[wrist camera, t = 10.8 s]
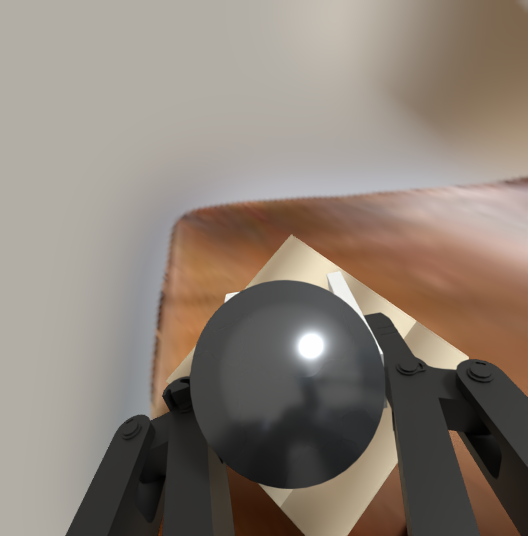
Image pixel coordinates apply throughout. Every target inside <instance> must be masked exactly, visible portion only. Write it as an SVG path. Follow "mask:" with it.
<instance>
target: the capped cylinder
mask: <svg viewBox="0 0 528 536" xmlns="http://www.w3.org/2000/svg"><path fill="white" fill-rule="evenodd" d="M190 391H191V399H192V405H193V409H194V412H195V416H196V419H197V422H198V424H199V426H200V429H201V431H202V433H203V435H204V437H205V438H206V440H207V442H208V443H209V445H210V446H211V447H212V449H213V450H214V451H215V453H216V454H217V455H218V456H219V457H220V458H221V459H222V460H223V461H224V462H225V463H226V464H227V465H228V466H229V467H231V468H232V469H233V470H235V471H236V472H237V473H239V474H240V475H242V476H244V477H246V478H248V479H249V480H251V481H254V482H257V483H259V484H262V485H265V486H269V487H274V488H280V489H299V488H308V487H311V486H315V485H319V484H322V483H324V482H326V481H329V480H331V479H333V478H335V477H336V476H338V475H340V474H341V473H343V472H344V471H346V470H347V469H348V468H349V467H350V466H351V465H353V464H354V463H355V462H356V461H357V460H358V459H359V457H360V456H361V455H362V454H363V453H364V451H365V450H366V449H367V447H368V446H369V444H370V442H371V441H372V439H373V437H374V435H375V433H376V431H377V428H378V426H379V423H380V420H381V416H382V412H383V409H384V401H385V374H384V366H383V362H382V358H381V355H380V351H379V349H378V346H377V344H376V341H375V339H374V337H373V335H372V333H371V332H370V330H369V328H368V326H367V325H366V324H365V322H364V321H363V320H362V318H361V317H360V316H359V314H358V313H357V312H356V311H355V310H354V309H353V308H352V307H351V306H350V305H349V304H347V303H346V302H345V301H344V300H342V299H341V298H340V297H338V296H337V295H335V294H333V293H332V292H330V291H328V290H326V289H324V288H322V287H320V286H317V285H313V284H310V283H307V282H302V281H295V280H274V281H269V282H263V283H260V284H257V285H254V286H251V287H249V288H247V289H245V290H242V291H241V292H239V293H237V294H236V295H234V296H233V297H231V298H230V299H229V300H228V301H226V302H225V303H224V304H223V305H222V306H221V307H220V308H219V309H218V310H217V311H216V312H215V313H214V314H213V316H212V317H211V318H210V320H209V321H208V322H207V324H206V326H205V328H204V329H203V331H202V333H201V335H200V337H199V340H198V342H197V344H196V348H195V351H194V354H193V359H192V364H191V373H190Z"/></svg>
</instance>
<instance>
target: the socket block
mask: <svg viewBox="0 0 528 536" xmlns="http://www.w3.org/2000/svg"><path fill="white" fill-rule="evenodd" d="M338 271H340V272H341V274H342V276H343V278H344V280H345V282H346V283H347V285H348V287H349V289H350V291H351V293H352V295H353V297H354V299H355V301H356V303H357V304H358V306H359V308H360V310H361V312H362V314H363V315H368V314H374V313H379V312H381V313H383V314H384V315H386V316H387V317H389V318H390V319H391V321H392V322H393V324H394V326H395V327H396V329H397V330H398V332H399V333H400V335H401V336H402V338H403V339H404V341H405V342H406V344H407V345H408V347H409V348H410V350H411V351H412V353H413V354H414V356H415V357H417V358H419V359H421V360H422V361H424V362H425V363H426V364H427V365H428V366H431V367H435V368H442V369H454V370H456V369H457V365H458V364H459V363H460V362H462V361H465V360H468V359H469V357H468V356H466V355H465V354H464V353H462V352H461V351H459V350H458V349H456V348H455V347H453V346H452V345H451V344H449V343H448V342H446V341H445V340H443V339H442V338H440V337H439V336H438V335H436V334H435V333H433V332H432V331H430V330H429V329H427V328H426V327H425V326H423V325H422V324H420V323H419V322H417V321H416V320H414V319H413V318H412V317H410V316H409V315H407V314H406V313H404V312H403V311H401V310H400V309H398V308H397V307H396V306H394V305H393V304H391V303H390V302H388V301H387V300H385V299H384V298H383V297H381V296H380V295H378V294H377V293H375V292H374V291H372V290H371V289H370V288H368V287H367V286H365V285H364V284H362V283H361V282H359V281H358V280H357V279H355V278H354V277H352V276H351V275H349V274H348V273H346V272H345V271H343V270H342V269H341V268H339V267H338V266H336V265H335V264H333V263H332V262H330V261H329V260H328V259H326V258H325V257H323V256H322V255H320V254H319V253H317V252H316V251H315V250H313V249H312V248H310V247H309V246H307V245H306V244H304V243H303V242H302V241H300V240H299V239H297V238H296V237H294V236H293V235H291V236H290V237H289V238H288V239H287V240H286V241H285V243H284V244H283V245H282V246H281V247H280V248H279V250H278V251H277V252H276V253H275V254H274V255H273V257H272V258H271V259H270V260H269V261H268V262H267V264H266V265H265V266H264V267H263V268H262V269H261V271H260V272H259V273H258V274H257V275H256V276H255V278H254V279H253V280H252V281H251V282H250V283H249V285H248V286H247V287H246V288H245V289H247V288H249V287H251V286H254V285H257V284H260V283H263V282H269V281H274V280H295V281H302V282H307V283H310V284H313V285H317V286H320V287H322V288H324V289H326V290H328V291H329V288H328V281H327V275H326V274H329V273H333V272H338ZM245 289H244V290H245ZM195 348H196V346H195ZM195 348H194V349H193V350H192V351H191V352H190V353H189V355H188V356H187V357H186V358H185V359H184V360H183V362H182V363H181V364H180V365H179V366H178V367H177V369H176V370H175V371H174V372H173V373H172V374H171V376H170V377H169V378H168V379H167V380H166V382H167V383H168V384H170V383H172V382H173V381H174V380H176V379H178V378H180V377H185V376H189V375H190V372H191V364H192V359H193V354H194V351H195ZM387 407H388V408H384V409H383V412H382V416H381V420H380V423H379V426H378V428H377V431H376V433H375V435H374V437H373V439H372V441H371V442H370V444H369V446H368V447H367V449H366V450H365V451H364V453H363V454H362V455H361V456H360V457H359V459H358V460H357V461H356V462H355V463H354V464H353V465H351V466H350V467H349V468H348V469H347V470H346V471H344V472H343V473H341V474H340V475H338V476H336V477H335V478H333V479H331V480H329V481H326V482H324V483H322V484H319V485H315V486H311V487H308V488H299V489H280V488H274V487H269V486H265V485H262V484H259V483H258V484H259V485H260V486H261V487H262V488H263V489H264V490H265V492H266V493H267V494H268V495H269V496H270V497H271V498H272V499H273V500H274V502H275V503H276V504H277V505H278V506H279V507H280V508H281V509H282V510H283V512H284V513H285V514H286V515H287V516H288V517H289V518H290V519H291V520H292V521H293V523H294V524H295V525H296V526H297V527H298V528H299V529H300V530H301V531H302V533H303V534H304V535H305V536H347V535H348V534H349V532H350V531H351V529H352V528H353V526H354V525H355V524H356V522H357V521H358V519H359V518H360V516H361V515H362V513H363V512H364V510H365V509H366V507H367V506H368V505H369V503H370V502H371V500H372V499H373V497H374V496H375V494H376V493H377V491H378V490H379V489H380V487H381V486H382V484H383V483H384V481H385V480H386V478H387V477H388V475H389V474H390V472H391V471H392V470H393V468H394V467H395V465H396V464H397V462H398V458H397V451H396V443H395V436H394V431H393V425H392V411H391V407H390V405H389V402H388V400H387Z"/></svg>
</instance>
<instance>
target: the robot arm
mask: <svg viewBox="0 0 528 536" xmlns="http://www.w3.org/2000/svg"><path fill="white" fill-rule="evenodd" d="M326 275H327V281H328V288H329V291H330V292H332V293H333V294H335V295H337V296H338V297H340V298H341V299H342V300H344V301H345V302H346V303H347V304H349V305H350V306H351V307H352V308H353V309H354V310H355V311H356V312H357V313H358V314H359V316H360V317H361V318H362V320H363V321H364V322H365V324H366V325H367V326H368V328H369V330H370V332H371V333H372V335H373V337H374V339H375V341H376V344H377V346H378V349H379V351H380V355H381V358H382V362H383V366H384V374H385V401H384V408H388V407H387V400H388V402H389V405H390V407H391V411H392V425H393V431H394V436H395V443H396V451H397V458H398V466H399V473H400V480H401V488H402V495H403V502H404V510H405V517H406V524H407V532H408V536H480V533H479V530H478V527H477V523H476V520H475V517H474V513H473V510H472V507H471V504H470V500H469V497H468V494H467V490H466V487H465V484H464V481H463V477H462V474H461V471H460V468H459V464H458V461H457V458H456V454H455V451H454V448H453V445H452V441H451V438H450V435H449V431H448V430H453V431H457V433H458V434H459V436H460V438H461V439H462V441H463V442H464V444H465V446H466V447H467V449H468V451H469V452H470V454H471V455H472V457H473V459H474V460H475V462H476V463H477V465H478V467H479V468H480V470H481V472H482V473H483V475H484V476H485V478H486V480H487V481H488V483H489V484H490V486H491V488H492V489H493V491H494V493H495V494H496V496H497V497H498V499H499V501H500V502H501V504H502V506H503V507H504V509H505V510H506V512H507V514H508V515H509V517H510V518H511V520H512V522H513V523H514V525H515V527H516V528H517V530H518V531H519V533H520V535H521V536H528V397H527V396H526V395H525V394H524V393H523V392H522V391H521V390H520V389H519V388H518V387H517V386H516V385H515V384H514V383H513V382H512V381H511V379H510V378H509V377H508V376H507V375H506V374H505V373H504V372H503V371H502V370H501V369H499V368H498V367H497V366H495V365H493V364H491V363H489V362H487V361H482V360H477V359H468V360H465V361H462V362H460V363H459V364H458V365H457V369H456V370H454V369H442V368H435V367H431V366H428V365H427V364H426V363H425V362H424V361H422V360H421V359H419V358H417V357H415V356H414V354H413V353H412V351H411V350H410V348H409V347H408V345H407V344H406V342H405V341H404V339H403V338H402V336H401V335H400V333H399V332H398V330H397V329H396V327H395V326H394V324H393V322H392V321H391V319H390V318H389V317H387V316H386V315H384V314H383V313H381V312H379V313H374V314H368V315H363V314H362V312H361V310H360V308H359V306H358V304H357V303H356V301H355V299H354V297H353V295H352V293H351V291H350V289H349V287H348V285H347V283H346V282H345V280H344V278H343V276H342V274H341V272H340V271H338V272H333V273H329V274H326ZM237 293H239V292H235V293H230V294H226V298H225V302H226V301H228V300H229V299H230V298H231V297H233V296H234V295H236V294H237ZM190 373H191V372H190ZM162 397H163V399H164V401H165V402H166V404H167V406H168V408H169V410H170V412H168V413H166V414H164V415H162V416H160V417H158V418H155V419H153V420H151V421H150V419H149V417H147V416H145V415H137V416H133V417H131V418H130V419H128V420H127V421H126V422H124V423H123V424H122V425H121V426H120V427H119V428H118V430H117V431H116V433H115V435H114V437H113V439H112V441H111V443H110V445H109V447H108V449H107V451H106V454H105V456H104V458H103V460H102V462H101V464H100V466H99V468H98V470H97V472H96V474H95V476H94V478H93V480H92V482H91V484H90V486H89V488H88V491H87V493H86V494H85V497H84V499H83V501H82V503H81V505H80V507H79V509H78V511H77V513H76V515H75V517H74V519H73V521H72V523H71V525H70V527H69V530H68V532H67V534H66V536H158V532H159V528H160V524H161V520H162V517H163V513H164V517H163V533H162V536H235V530H234V522H233V514H232V506H231V498H230V490H229V482H228V474H227V466H226V463H225V462H224V461H223V460H222V459H221V458H220V457H219V456H218V455H217V454H216V453H215V451H214V450H213V449H212V447H211V446H210V445H209V443H208V442H207V440H206V438H205V437H204V435H203V433H202V431H201V429H200V426H199V424H198V422H197V419H196V416H195V412H194V409H193V405H192V399H191V391H190V375H189V376H185V377H180V378H178V379H176V380H174V381H173V382H172V383H170V384H169V385H168V386H167V387H166V389H165V390H164V392H163V395H162Z"/></svg>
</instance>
